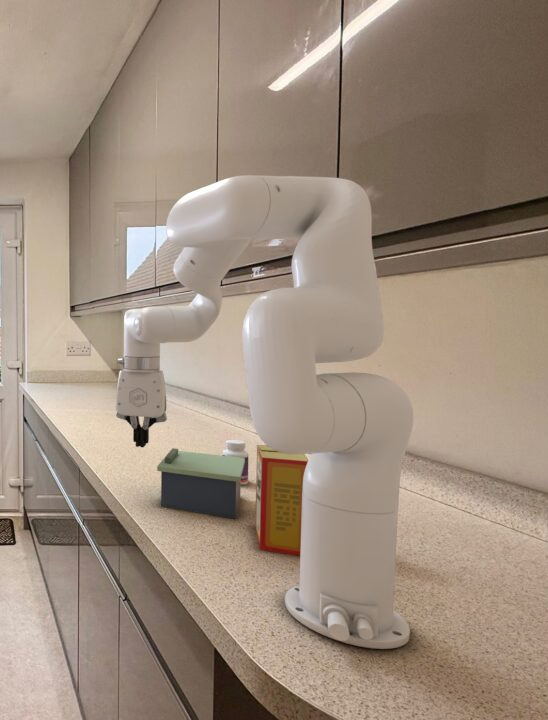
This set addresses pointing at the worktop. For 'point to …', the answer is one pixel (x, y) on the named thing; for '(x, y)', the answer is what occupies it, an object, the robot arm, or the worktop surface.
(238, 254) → the robot arm
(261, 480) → the baking soda box
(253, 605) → the worktop surface
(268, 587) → the worktop surface
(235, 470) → the bin lid
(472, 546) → the worktop surface
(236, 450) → the pill bottle
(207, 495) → the storage bin
